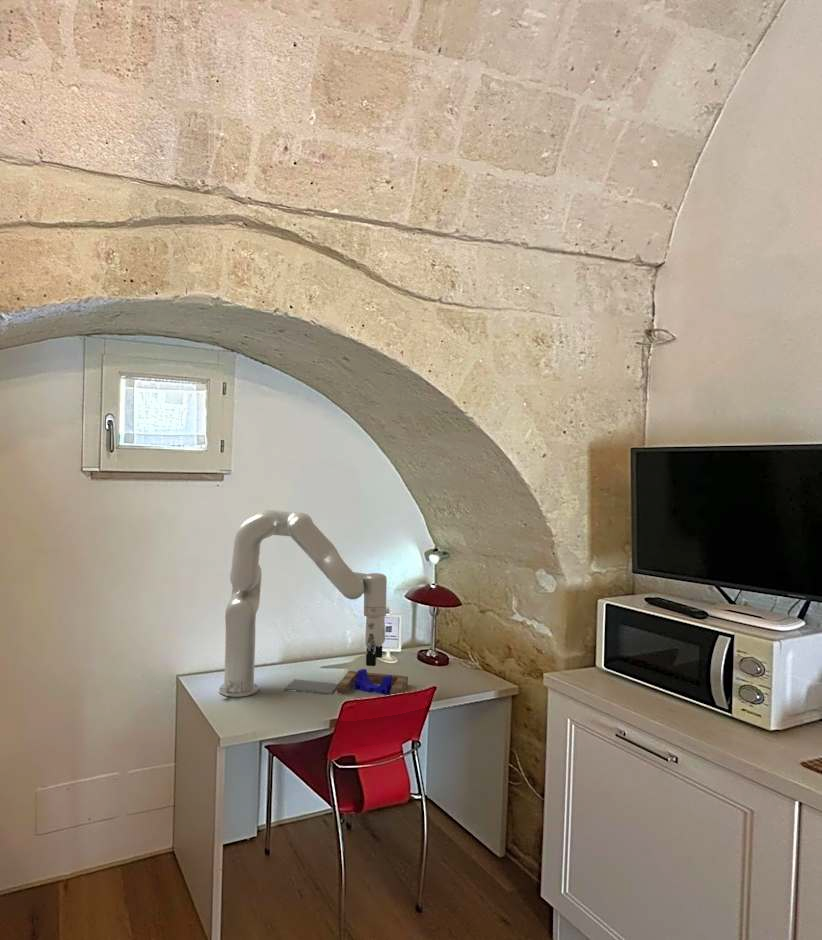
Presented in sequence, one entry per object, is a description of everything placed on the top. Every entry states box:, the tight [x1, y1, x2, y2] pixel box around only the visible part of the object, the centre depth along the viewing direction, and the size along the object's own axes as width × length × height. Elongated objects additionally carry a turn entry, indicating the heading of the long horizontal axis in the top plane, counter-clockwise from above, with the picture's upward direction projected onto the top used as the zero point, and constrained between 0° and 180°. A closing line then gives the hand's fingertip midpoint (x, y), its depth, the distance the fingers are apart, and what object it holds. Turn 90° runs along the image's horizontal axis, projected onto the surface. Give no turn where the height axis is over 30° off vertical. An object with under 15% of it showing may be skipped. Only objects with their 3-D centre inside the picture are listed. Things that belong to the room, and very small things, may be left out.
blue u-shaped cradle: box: [354, 668, 393, 696], centre depth 245 cm, size 12×4×6 cm, turn 58°
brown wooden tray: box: [336, 670, 409, 695], centre depth 247 cm, size 16×21×3 cm
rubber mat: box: [284, 679, 338, 695], centre depth 246 cm, size 10×16×1 cm, turn 80°
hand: (374, 661), depth 244 cm, fingers open, 9 cm apart
